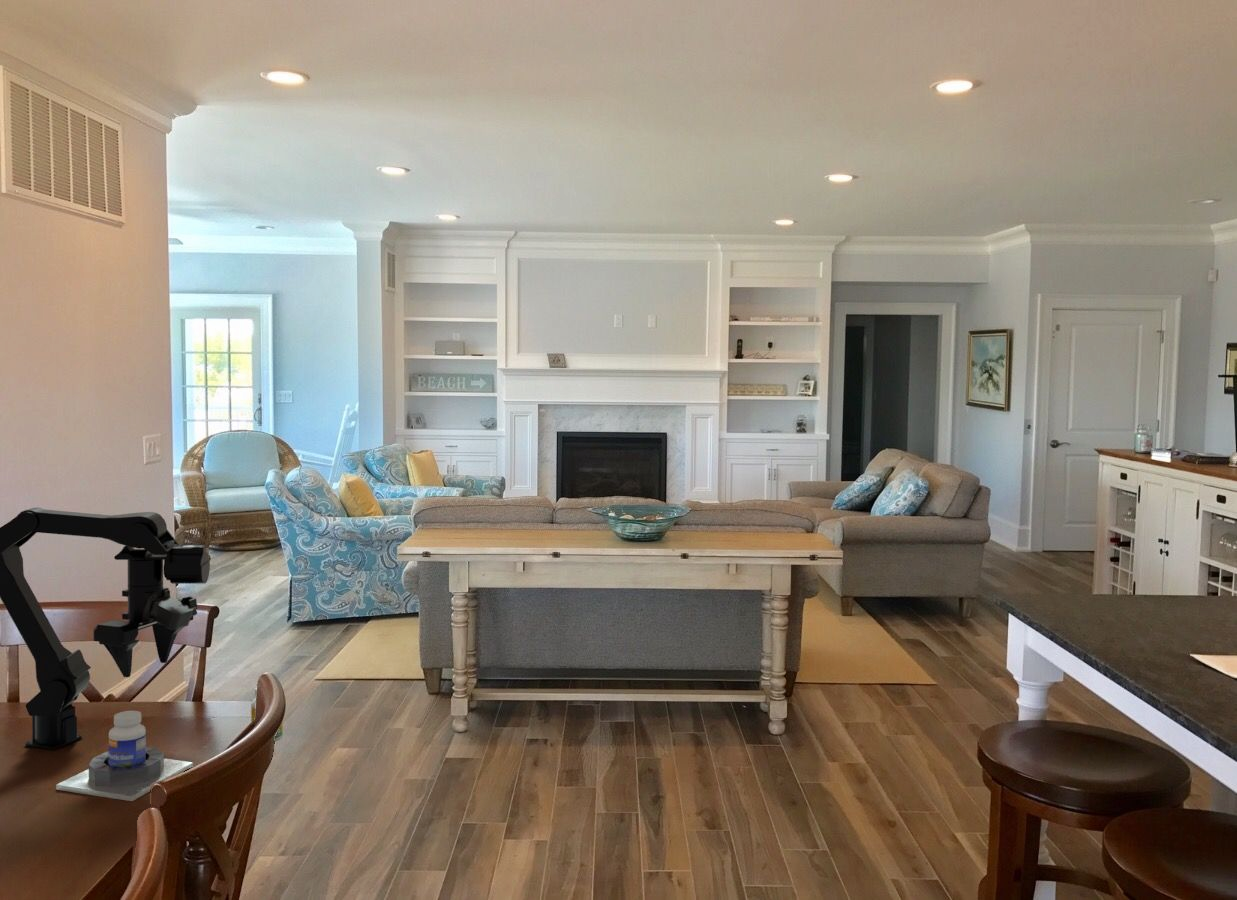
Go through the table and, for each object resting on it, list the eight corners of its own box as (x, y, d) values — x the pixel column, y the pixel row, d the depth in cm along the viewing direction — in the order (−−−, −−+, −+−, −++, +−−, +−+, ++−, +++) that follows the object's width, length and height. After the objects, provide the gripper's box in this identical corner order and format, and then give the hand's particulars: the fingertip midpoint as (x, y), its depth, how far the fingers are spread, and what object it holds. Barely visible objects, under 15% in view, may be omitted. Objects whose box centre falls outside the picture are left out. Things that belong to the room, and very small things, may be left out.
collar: (56, 789, 151) (56, 769, 151) (122, 757, 165) (122, 738, 164) (132, 801, 148) (132, 781, 148) (192, 767, 161) (192, 748, 161)
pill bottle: (101, 779, 154) (101, 719, 153) (119, 765, 159) (119, 708, 158) (134, 780, 154) (134, 720, 153) (152, 767, 159) (152, 709, 158)
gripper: (146, 598, 160) (146, 689, 161) (218, 577, 178) (218, 660, 179) (90, 592, 163) (91, 683, 164) (167, 572, 181) (167, 654, 182)
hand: (145, 669), depth 172 cm, fingers open, 9 cm apart
